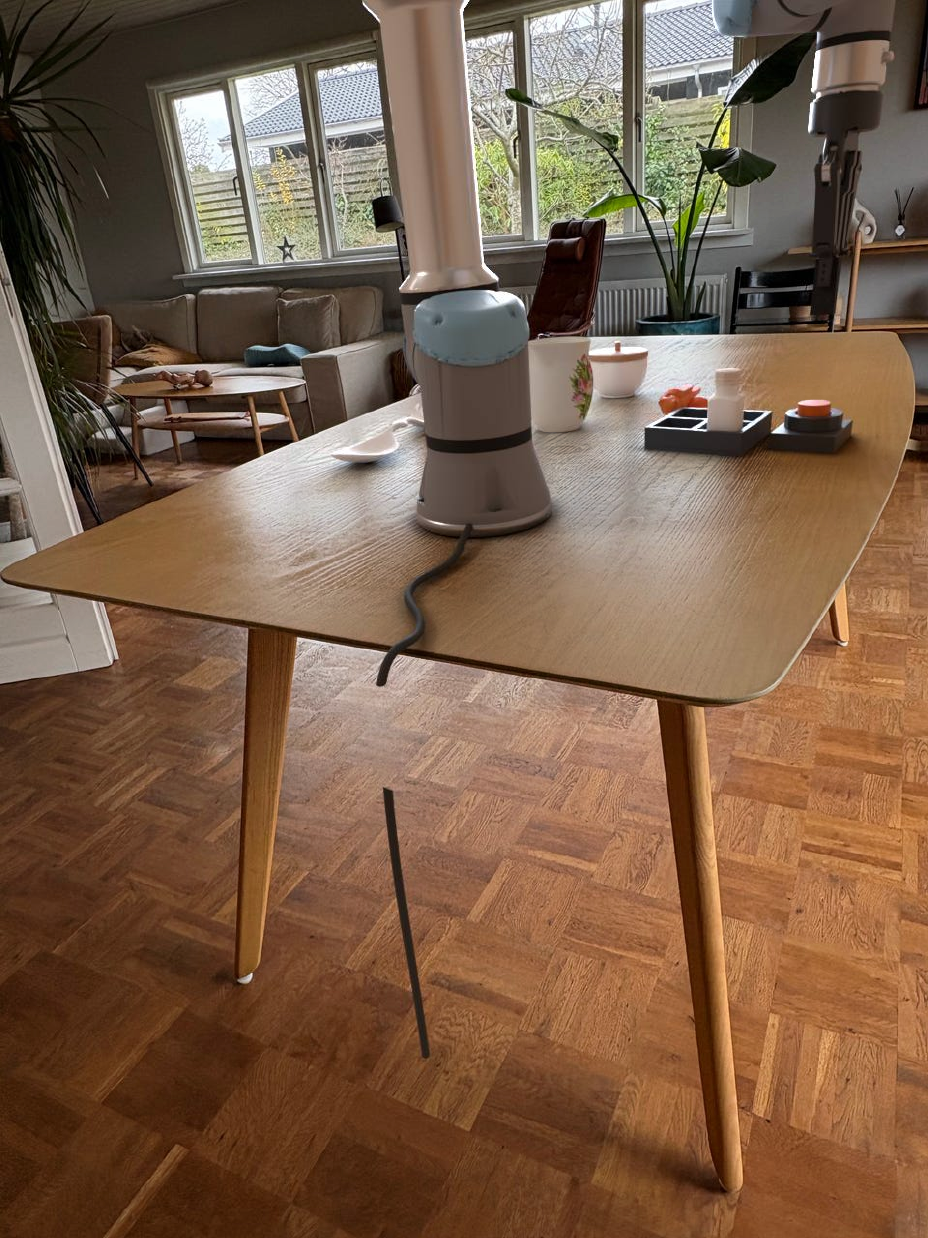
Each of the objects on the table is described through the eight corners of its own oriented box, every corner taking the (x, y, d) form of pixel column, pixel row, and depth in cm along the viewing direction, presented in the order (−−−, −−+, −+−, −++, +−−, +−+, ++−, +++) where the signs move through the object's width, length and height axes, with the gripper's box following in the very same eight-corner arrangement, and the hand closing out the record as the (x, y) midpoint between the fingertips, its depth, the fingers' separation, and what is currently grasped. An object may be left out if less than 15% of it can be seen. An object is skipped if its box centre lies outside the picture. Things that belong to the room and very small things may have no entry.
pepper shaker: (742, 439, 110) (747, 367, 106) (734, 446, 107) (739, 372, 103) (713, 438, 112) (717, 367, 108) (704, 445, 109) (708, 372, 105)
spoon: (465, 421, 139) (463, 400, 137) (375, 473, 113) (372, 448, 111) (418, 420, 142) (416, 400, 141) (320, 471, 116) (316, 447, 115)
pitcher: (614, 415, 133) (614, 327, 127) (570, 441, 120) (567, 344, 114) (554, 412, 139) (551, 328, 133) (504, 437, 125) (499, 345, 119)
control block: (833, 454, 103) (837, 422, 101) (769, 449, 107) (771, 419, 105) (851, 435, 110) (854, 405, 108) (790, 432, 114) (792, 403, 113)
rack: (740, 456, 105) (742, 433, 104) (643, 449, 112) (644, 427, 111) (770, 433, 115) (772, 411, 113) (680, 427, 122) (680, 406, 121)
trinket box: (578, 394, 152) (577, 342, 148) (629, 387, 154) (630, 335, 150) (604, 403, 142) (603, 348, 138) (658, 395, 145) (659, 340, 141)
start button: (825, 420, 105) (827, 406, 104) (793, 418, 107) (794, 404, 106) (833, 413, 107) (834, 400, 107) (801, 411, 110) (803, 398, 109)
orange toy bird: (685, 373, 131) (656, 387, 122) (728, 389, 128) (701, 405, 119) (674, 402, 133) (645, 418, 125) (716, 419, 131) (689, 437, 122)
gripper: (871, 82, 85) (842, 320, 95) (894, 92, 94) (865, 307, 104) (797, 93, 89) (776, 320, 99) (826, 102, 98) (805, 308, 108)
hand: (822, 313), depth 102 cm, fingers closed
